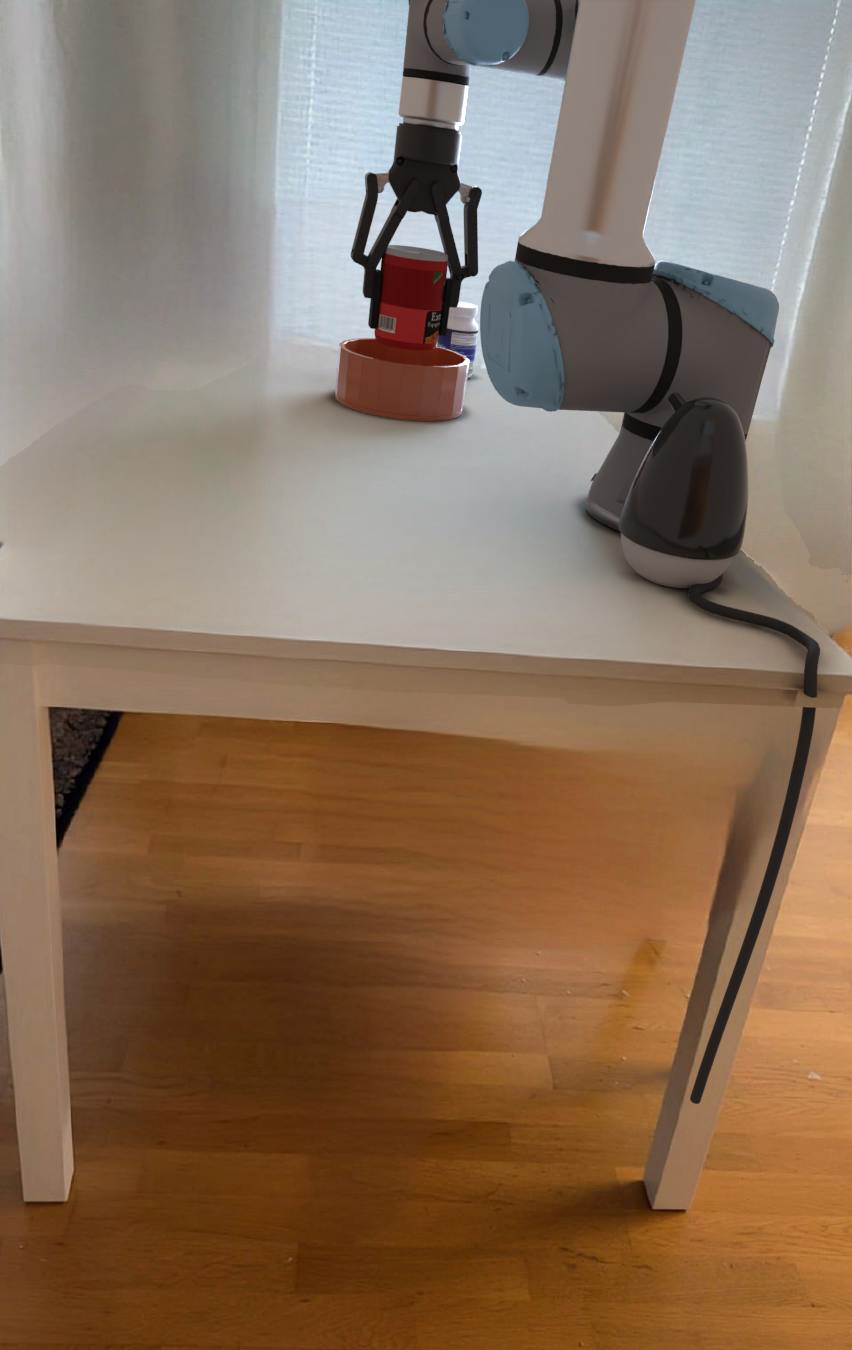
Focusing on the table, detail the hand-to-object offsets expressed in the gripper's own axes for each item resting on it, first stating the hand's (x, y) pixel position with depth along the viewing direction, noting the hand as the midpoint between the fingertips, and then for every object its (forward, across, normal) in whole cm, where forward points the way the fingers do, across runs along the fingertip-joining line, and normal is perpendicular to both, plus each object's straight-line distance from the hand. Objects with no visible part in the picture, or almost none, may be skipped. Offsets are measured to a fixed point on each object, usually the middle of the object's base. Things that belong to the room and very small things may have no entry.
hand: (406, 330), depth 132 cm
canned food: (+2, 0, 0) cm, 2 cm away
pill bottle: (+9, -11, -22) cm, 26 cm away
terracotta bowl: (+9, 0, 0) cm, 9 cm away
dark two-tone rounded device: (+9, -16, +55) cm, 58 cm away
